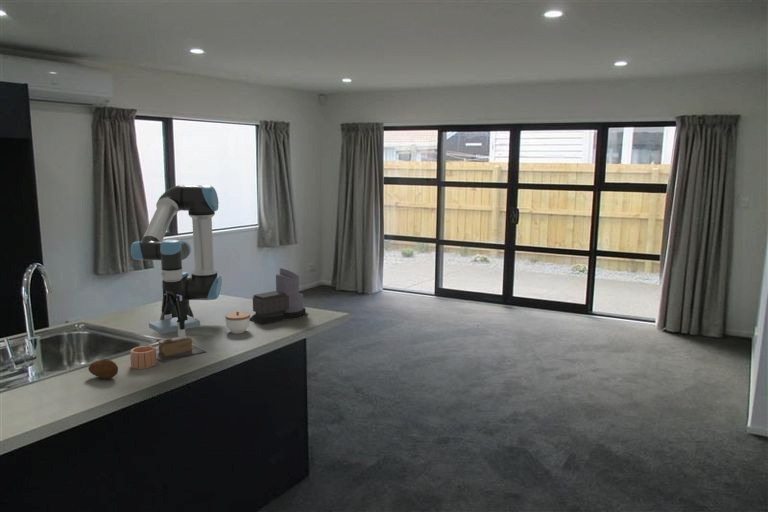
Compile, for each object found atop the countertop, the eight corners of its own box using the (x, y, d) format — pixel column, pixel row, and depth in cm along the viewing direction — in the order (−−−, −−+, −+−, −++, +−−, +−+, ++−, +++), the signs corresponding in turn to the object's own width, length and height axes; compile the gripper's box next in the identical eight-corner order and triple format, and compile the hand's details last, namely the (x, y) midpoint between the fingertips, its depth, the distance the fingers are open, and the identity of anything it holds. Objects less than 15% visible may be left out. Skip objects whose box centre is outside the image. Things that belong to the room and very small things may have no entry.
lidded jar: (243, 335, 250) (243, 315, 249) (221, 334, 252) (220, 313, 251) (254, 329, 260) (253, 309, 259) (232, 327, 262) (231, 307, 261)
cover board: (149, 327, 224) (148, 322, 224) (187, 319, 235) (187, 315, 235) (160, 333, 216) (160, 328, 216) (200, 325, 227) (200, 320, 227)
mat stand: (145, 352, 227) (144, 340, 226) (188, 342, 239) (187, 331, 238) (161, 362, 215) (161, 349, 215) (206, 352, 228) (205, 340, 227)
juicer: (294, 308, 298) (293, 262, 294) (314, 314, 287) (313, 266, 283) (245, 319, 276) (244, 270, 272) (264, 326, 265) (263, 274, 262)
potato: (97, 373, 204) (96, 354, 203) (125, 376, 201) (124, 357, 200) (84, 379, 197) (82, 360, 196) (112, 383, 195) (111, 363, 194)
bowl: (127, 364, 213) (126, 349, 212) (150, 359, 219) (149, 344, 218) (136, 370, 207) (135, 354, 206) (159, 365, 213) (159, 349, 212)
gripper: (150, 276, 228) (153, 328, 232) (176, 286, 212) (179, 342, 215) (169, 273, 233) (171, 325, 237) (195, 283, 217) (197, 338, 221)
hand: (175, 333), depth 226 cm, fingers closed on cover board, 11 cm apart
